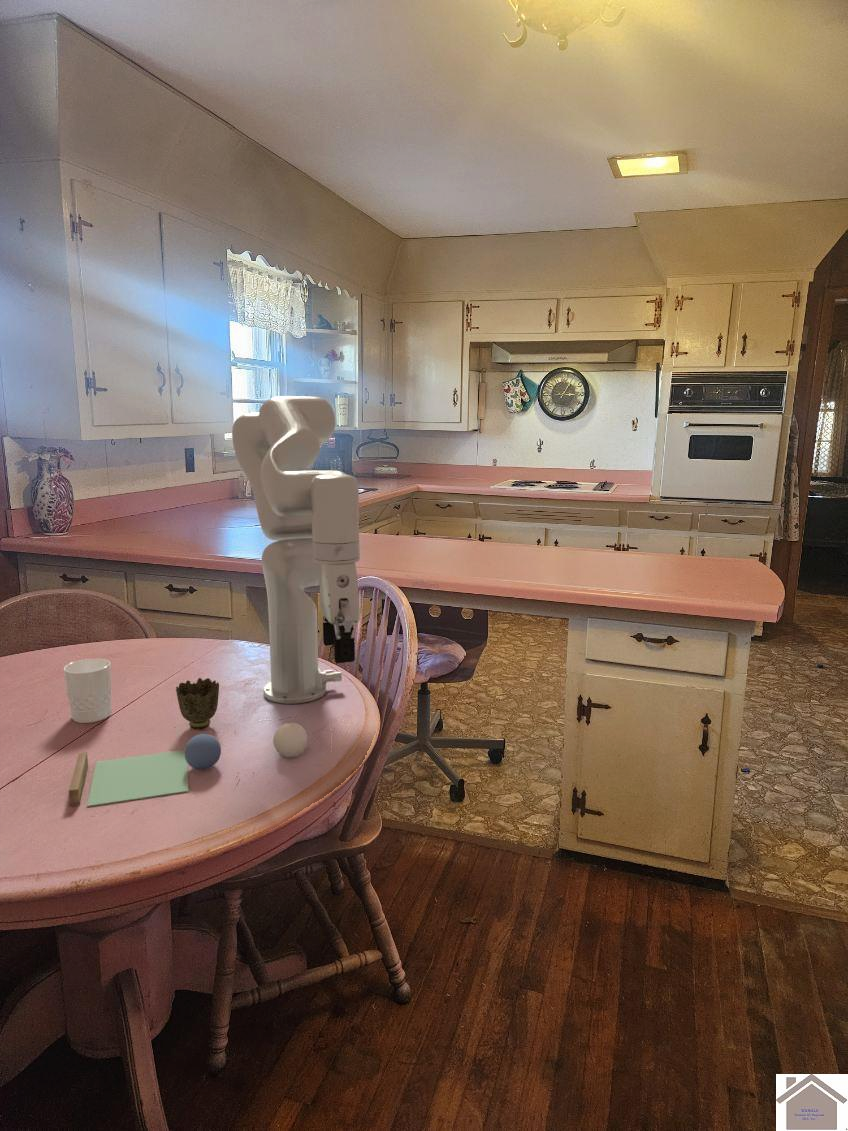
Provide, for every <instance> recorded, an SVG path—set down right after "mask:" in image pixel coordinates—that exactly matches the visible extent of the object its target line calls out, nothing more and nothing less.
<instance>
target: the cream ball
mask: <svg viewBox="0 0 848 1131" xmlns="http://www.w3.org/2000/svg"><path fill="white" fill-rule="evenodd" d="M272 743H273V747H274V749H275V751H276V752H277V753H278V754H279V755H280V756H283V757H285V758H294V757H297V756H300V755H301V753H303V752H304V750H305V749H306V747H307V745H308V734H307V732H306V730H305V728H304V727H303V726H301V725H300V724H299V723H296V722H288V723H284V724H282V725H281V726H279V727H278V728H277V729H276V731H275V733H274V735H273V740H272Z"/></svg>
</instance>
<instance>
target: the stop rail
mask: <svg viewBox="0 0 848 1131" xmlns="http://www.w3.org/2000/svg"><path fill="white" fill-rule="evenodd" d="M88 770H89V758H88V752H80V753H78V754H77V758H76V762H75V766H74V770H73V774H72V777H71V781H70V786H69V789H68V794H69V804H70V807H74V806H80V804H81V800H82V796H83V792H84V787H85V783H86V779H87V775H88Z"/></svg>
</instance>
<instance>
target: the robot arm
mask: <svg viewBox="0 0 848 1131" xmlns="http://www.w3.org/2000/svg"><path fill="white" fill-rule="evenodd" d="M335 429H336V416H335V411H334V409H333V407H332V405H331V404H330V403H329V401H327V399H325V398H324V397H323V398H322V397H321V396H320V397H319V396H299V395H298V396H297V395H296V396H294V395H292V396H291V395H281V396H274V397H271V398H269V399H267V400H265V401H264V402H263V403H262V405H261V406H260V407H259V410H258V412H257V411H256V412H249V413H245V414H242V415H240V416H239V417H237V418H236V419H235V421H234V422H233V425H232V430H231V431H232V432H231V436H232V437H231V438H232V444H233V450H234V453H235V457H236V459H237V462H238V464H239V466H240V468H241V470H242V472H243V473H244V475H245V478H247V480H248V482H249V484H250V487H251V490H252V494H253V498H254V503H255V507H256V512H257V516H258V520H259V524H260V528H261V530H262V532H263V534H264V536H265V537H266V538H267V539H268V540H272V541H273V542H272V543H270V544H268V545H267V546H266V547H265V548H264V549H263V551H262V555H261V567H262V573H263V577H264V583H265V589H266V594H267V595H266V596H267V607H268V608H267V609H268V610H267V611H268V626H269V627H268V630H269V634H268V635H269V654H270V655H269V657H270V658H269V659H270V678H271V679H270V681H269V682H268V683H266V684H265V685H264V687H263V696H264V697H265V699H267V700H269V701H271V702H274V703H278V704H279V703H280V704H285V705H286V704H287V705H289V704H291V705H292V704H293V705H294V704H303V703H308V702H312V701H315V700H317V699H320V698H321V697H323V696H325V695H326V692H327V683H331V682H333V683H336V682H341V681H342V679H343V678H342V676H343V675H342V671H335V672H334V670H333V669H326V670H322V669H320V666H319V651H318V650H319V646H318V645H319V644H318V642H319V641H318V640H319V639H318V638H319V637H318V609H317V606H316V604H315V602H314V601H313V599H312V598H311V597H310V596H309V595H308V594H307V593H306V592H305V591H304V589H306V588H309V587H314V586H316V587H317V586H319V599H320V600H319V603H320V610H321V611H320V612H321V613H322V615H323V616H322V620H323V622H322V638H323V639H322V641H323V643H322V644H323V645H324V646H326V647H327V646H333V651H334V652H333V653H334V654H333V656H334V657H333V658H334V663H336V664H344V663H354V662H355V659H356V655H355V654H356V651H355V650H356V649H355V647H356V646H355V644H356V643H355V631H354V630H355V629H354V625H353V622H354V623H355V624H358V623H359V622H360V620H361V613H360V596H359V583H358V581H359V580H358V573H357V572H358V571H357V567H356V563H358V562H359V561H360V558H361V557H360V556H361V555H360V553H361V552H360V506H359V504H360V502H359V500H360V499H359V498H360V497H359V496H360V495H359V493H360V492H359V482H358V480H357V478H356V476H353V475H350V474H346V473H345V472H343V471H341V470H333V469H332V470H331V469H330V470H327V469H326V470H315V469H314V470H304V469H306V468H308V467H309V466H311V465H312V464H313V463H314V462H315V461H316V460H317V458H318V457H319V454H320V449H321V446H323V445H325V444H326V443H327V442H328V441H330V439H331V438H332V436H333V435H334V433H335Z"/></svg>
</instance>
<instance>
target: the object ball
mask: <svg viewBox="0 0 848 1131" xmlns="http://www.w3.org/2000/svg"><path fill="white" fill-rule="evenodd" d="M184 750H185V759H186V761H187V765H189V767H191V768H192V769H194V770H199V771H203V770H208V769H210V768H212V767H214V766H215V765H216V764H217V763H218V761H219V760H220V757H221V755H222V754H221V753H222V752H221V751H222V747H221V744H220V742H219V740H218V739H217V737H215V736H214V735H211V734H208V733H200V734H199V733H198V734H197V735H195V736H193V737H192V738H191V739H190V740H188V742H187V743H186V745H185V747H184Z"/></svg>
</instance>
